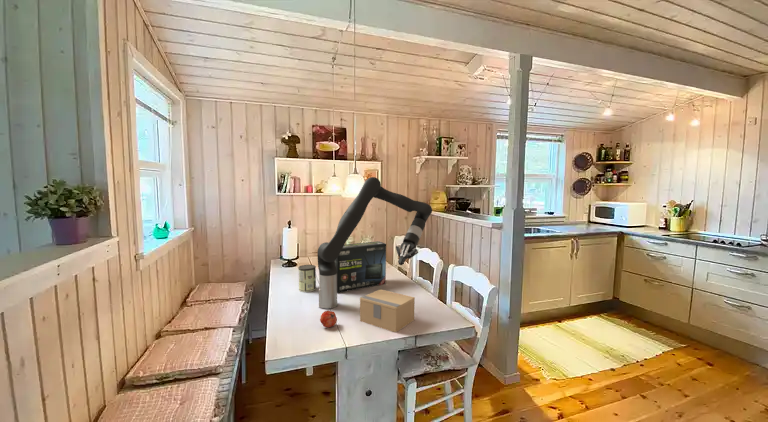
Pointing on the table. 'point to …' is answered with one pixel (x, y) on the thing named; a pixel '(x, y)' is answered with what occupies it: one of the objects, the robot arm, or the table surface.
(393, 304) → the box lid
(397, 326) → the cardboard box
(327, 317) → the pomegranate
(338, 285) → the router box
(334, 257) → the robot arm
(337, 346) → the table surface
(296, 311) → the table surface
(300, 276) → the coffee can
